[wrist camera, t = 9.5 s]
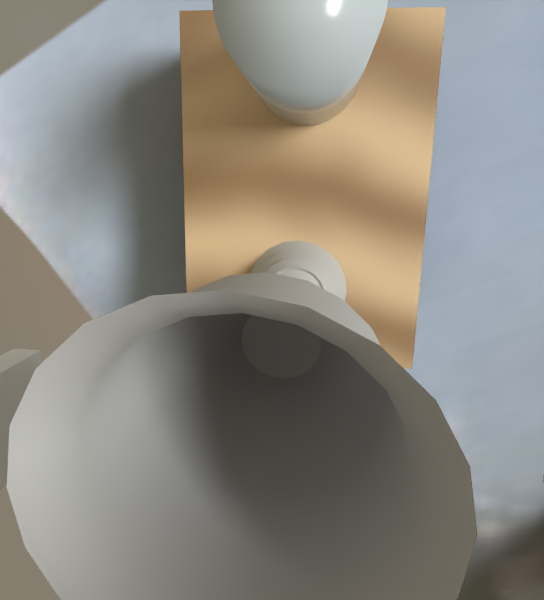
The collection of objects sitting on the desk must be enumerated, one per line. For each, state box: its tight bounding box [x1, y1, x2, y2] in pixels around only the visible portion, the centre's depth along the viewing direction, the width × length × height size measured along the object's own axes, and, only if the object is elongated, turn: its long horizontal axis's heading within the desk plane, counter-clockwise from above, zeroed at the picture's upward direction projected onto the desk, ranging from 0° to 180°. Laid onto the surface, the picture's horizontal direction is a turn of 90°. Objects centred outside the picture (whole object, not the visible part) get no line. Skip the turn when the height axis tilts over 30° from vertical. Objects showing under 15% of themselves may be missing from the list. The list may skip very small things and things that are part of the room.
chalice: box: [7, 240, 477, 600], centre depth 16 cm, size 7×7×18 cm
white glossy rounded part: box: [213, 0, 388, 126], centre depth 18 cm, size 5×5×9 cm
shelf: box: [180, 7, 446, 369], centre depth 27 cm, size 17×12×6 cm
